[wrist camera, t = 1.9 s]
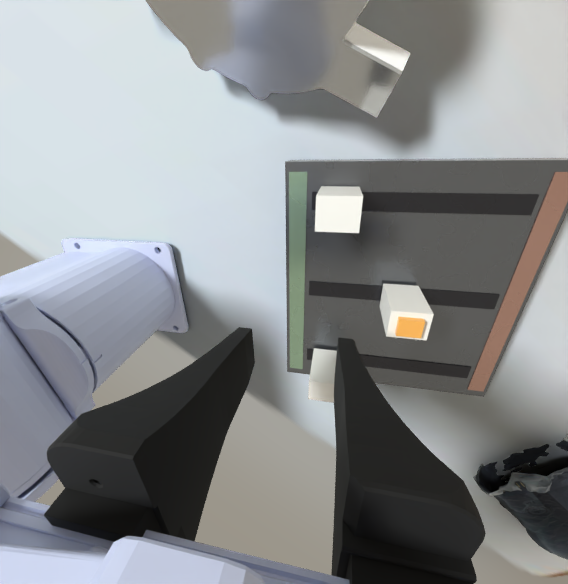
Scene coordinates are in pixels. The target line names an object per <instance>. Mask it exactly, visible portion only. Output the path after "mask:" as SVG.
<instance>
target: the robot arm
mask: <svg viewBox="0 0 568 584" xmlns="http://www.w3.org/2000/svg"><path fill="white" fill-rule="evenodd" d="M61 244H62V247H63V250H64V253H61V254H58V255H56V256H53V257H50V258H48V259H45V260H43V261H40V262H37V263H35V264H32V265H29V266H27V267H24V268H21V269H19V270H16V271H14V272H11V273H8V274H6V275H3V276H0V584H474V583H475V582H476V581H477V580H476V574H475V570H474V567H473V564H472V561H471V558H472V557H473V555H474V554H475V552H476V551H477V549H478V548H479V546H480V545H481V543H482V542H483V540H484V537H485V529H484V525H483V523H482V520H481V517H480V514H479V512H478V509H477V507H476V505H475V503H474V501H473V499H472V497H471V495H470V493H469V491H468V489H467V487H466V485H465V483H464V481H463V480H462V479H461V478H460V477H458V476H457V475H456V474H455V473H454V472H453V471H452V470H451V469H449V468H448V467H447V466H446V465H445V464H444V463H443V462H441V461H440V460H439V459H438V458H437V457H436V456H435V455H434V454H433V453H432V452H431V451H430V450H429V449H428V448H427V447H426V446H425V445H424V444H423V443H422V442H421V441H420V440H419V439H418V438H417V437H416V436H415V435H414V434H413V432H412V431H411V430H410V429H409V428H408V427H407V426H406V425H405V424H404V423H403V421H402V420H401V419H400V418H399V416H398V415H397V414H396V413H395V411H394V410H393V409H392V408H391V406H390V405H389V404H388V402H387V401H386V399H385V398H384V397H383V395H382V394H381V392H380V391H379V389H378V387H377V386H376V384H375V383H374V381H373V379H372V378H371V376H370V374H369V372H368V370H367V368H366V367H365V365H364V363H363V361H362V359H361V356H360V354H359V352H358V349H357V347H356V344H355V341H354V340H353V339H348V338H338V345H337V355H336V366H335V379H334V409H335V428H336V455H337V456H336V483H335V485H336V486H335V509H334V533H333V556H332V575H328V574H324V573H320V572H316V571H312V570H308V569H304V568H299V567H295V566H291V565H287V564H283V563H279V562H275V561H271V560H267V559H263V558H259V557H255V556H251V555H247V554H243V553H239V552H235V551H231V550H227V549H223V548H219V547H214V546H210V545H206V544H203V543H198V542H195V537H196V534H197V530H198V526H199V522H200V519H201V515H202V511H203V508H204V504H205V501H206V497H207V494H208V490H209V487H210V484H211V480H212V477H213V474H214V471H215V467H216V464H217V461H218V458H219V455H220V452H221V449H222V446H223V443H224V440H225V436H226V434H227V431H228V429H229V426H230V424H231V422H232V420H233V417H234V415H235V413H236V411H237V408H238V406H239V404H240V401H241V399H242V397H243V395H244V393H245V390H246V388H247V386H248V383H249V380H250V377H251V374H252V370H253V367H254V363H255V361H254V349H253V337H252V329H250V328H240V327H239V328H238V329H237V330H235V331H234V332H233V333H232V334H230V335H229V336H228V337H227V338H225V339H224V340H223V341H222V342H220V343H219V344H218V345H217V346H215V347H214V348H213V349H212V350H210V351H209V352H208V353H206V354H205V355H203V356H202V357H201V358H199V359H198V360H196V361H195V362H193V363H192V364H191V365H189V366H187V367H186V368H184V369H183V370H181V371H180V372H178V373H176V374H174V375H173V376H171V377H169V378H167V379H166V380H163V381H161V382H159V383H157V384H155V385H153V386H151V387H149V388H148V389H145V390H143V391H141V392H139V393H136V394H134V395H132V396H129V397H127V398H125V399H122V400H120V401H117V402H114V403H111V404H109V405H106V406H103V407H100V408H97V409H94V410H92V408H93V407H94V406H95V403H94V401H93V398H92V393H93V392H94V391H95V390H96V389H97V388H98V387H99V386H100V385H101V384H102V383H103V382H104V381H105V380H106V379H108V378H109V376H110V375H112V373H114V372H115V370H117V369H118V367H120V366H121V365H122V364H123V363H124V362H125V361H126V360H127V359H128V358H129V357H130V356H131V355H132V354H133V353H134V352H135V351H136V350H137V349H138V348H139V347H140V346H141V345H142V344H143V343H144V342H145V341H146V340H147V339H148V338H149V337H150V336H151V335H152V334H153V333H154V332H155V331H156V330H158V331H168V332H177V333H185V332H187V330H188V328H189V327H188V322H187V317H186V312H185V308H184V303H183V298H182V293H181V288H180V284H179V279H178V274H177V269H176V264H175V260H174V255H173V250H172V247H171V246H170V245H169V244H167V243H159V242H138V241H118V240H98V239H77V238H66V239H63V240H62V241H61ZM79 245H80V246H79ZM157 247H159V248H160V250H161V252H160V251H159V250H158V249H157ZM176 326H177V327H178V328H177V327H176ZM58 479H60V481H61V482H62V484H63V485H64V487H65V489H64V490H63V492H62V493H61V494H60V495H59V497H58V498H57V499H56V500H55V501H54V503H53V504H52V505H51V506H50V505H45V504H41V503H37V502H35V501H36V500H38V499H39V498H40V497H41V496H42V495H43V494H45V493H46V492H47V491H48V490H49V489H50V488H51V487H52V486H53V485H54V484H55V483H56V482H57V480H58Z"/></svg>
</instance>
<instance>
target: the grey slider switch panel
mask: <svg viewBox="0 0 568 584" xmlns="http://www.w3.org/2000/svg"><path fill="white" fill-rule="evenodd" d="M285 175H286V275H287V372H295V373H302V374H310V371H311V364H312V357H313V351H314V348H316V349H325V350H334V351H337V345H338V338H348V339H353V340H354V341H355V344H356V347H357V349H358V352H359V354H360V356H361V359H362V361H363V363H364V365H365V367H366V368H367V370H368V372H369V374H370V376H371V378H372V379H373V381H374V383H381V384H389V385H397V386H405V387H413V388H421V389H429V390H437V391H445V392H453V393H460V394H468V395H476V396H484V395H485V393H486V391H487V388H488V386H489V384H490V382H491V380H492V377H493V375H494V373H495V371H496V368H497V366H498V364H499V362H500V360H501V357H502V355H503V353H504V351H505V348H506V346H507V344H508V342H509V339H510V337H511V335H512V333H513V331H514V328H515V326H516V324H517V322H518V319H519V317H520V315H521V313H522V311H523V308H524V306H525V304H526V302H527V299H528V297H529V295H530V293H531V291H532V288H533V286H534V284H535V282H536V279H537V277H538V275H539V273H540V270H541V268H542V266H543V264H544V262H545V259H546V257H547V255H548V253H549V250H550V248H551V246H552V244H553V242H554V239H555V237H556V235H557V233H558V230H559V228H560V226H561V224H562V222H563V219H564V217H565V215H566V213H567V210H568V159H566V158H513V159H364V160H290V161H286V162H285ZM321 186H348V187H360V189H361V192H362V194H363V203H362V212H361V220H360V229H359V233H341V232H315V212H316V195H317V193H318V191H319V189H320V188H321ZM383 283H384V284H398V285H413V286H419V288H420V289H421V291H422V293H423V295H424V297H425V299H426V301H427V303H428V304H429V306H430V308H431V310H432V312H433V314H434V315H433V319H432V322H431V326H430V330H429V333H428V337H427V340H417V339H406V338H396V337H386V333H385V329H384V324H383V320H382V315H381V311H380V300H381V294H382V288H383Z"/></svg>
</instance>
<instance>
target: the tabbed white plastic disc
mask: <svg viewBox="0 0 568 584" xmlns="http://www.w3.org/2000/svg"><path fill="white" fill-rule="evenodd" d="M146 2H147V3H148V4H149V6H150V7H151V8H152V10H153V11H154V12H155V13H156V14H157V16H158V17H159V18H160V19H161V21H162V22H163V23H164V24H165V25H166V26H167V27H168V29H169V30H170V31H171V32H172V33H173V34H174V35H175V36H176V37H177V38H178V39H179V40H180V41H181V42H182V43H183V44H184V45H185V46H186V47H187V49H188V51H189V53H190V56H191V58H192V60H193V62H194V63H195V64H196V65H197V66H198V67H199V68H200V69H202V70H204V71H209V70H211V69H213V70H216V71H217V72H219V73H221V74H222V75H224V76H225V77H227V78H229V79H231V80H233V81H235V82H237V83H240V84H242V85H244V86H245V87H246V88H247V89H248V90H249V92H250V93H251V95H252V96H253V97H255V98H256V99H259V100H264V99H266V98H267V97H268V96H269V95H270V94H271V93H280V94H292V93H302V92H308V91H312V90H316V89H324V90H326V91H328V92H330V93H331V94H333V95H335V96H337V97H339V98H341V99H343V100H345V101H346V102H348V103H350V104H352V105H354V106H356V107H358V108H359V109H361V110H363V111H365V112H367V113H369V114H371V115H372V116H374V117H376V118H377V117H378V115H379V113H380V111H381V110H382V108H383V106H384V104H385V102H386V101H387V99H388V97H389V95H390V94H391V92H392V90H393V88H394V87H395V85H396V83H397V81H398V80H399V78H400V76H401V74H402V72H403V70H404V67H405V65H406V63H407V60H408V58H409V56H410V54H411V53H410V52H408V51H406V50H404V49H402V48H401V47H399V46H397V45H395V44H393V43H392V42H390V41H388V40H386V39H384V38H383V37H381V36H379V35H377V34H375V33H374V32H372V31H370V30H368V29H366V28H364V27H363V26H361V25H359V24H357V23H356V20H357V19H358V17H359V16H360V14H361V13H362V11H363V10H364V8H365V7H366V5H367V3H368V2H369V0H146Z"/></svg>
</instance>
